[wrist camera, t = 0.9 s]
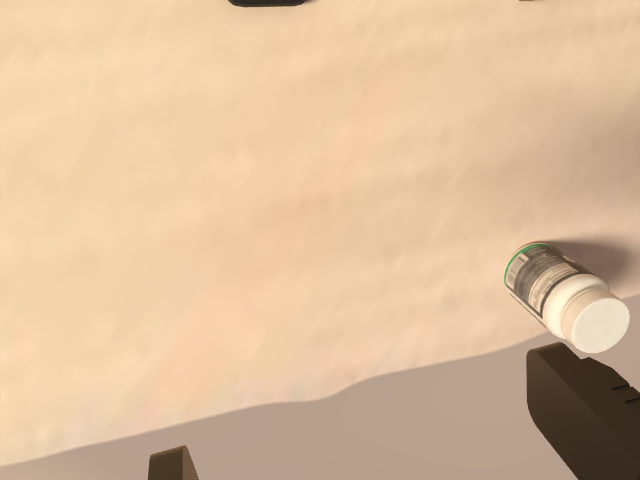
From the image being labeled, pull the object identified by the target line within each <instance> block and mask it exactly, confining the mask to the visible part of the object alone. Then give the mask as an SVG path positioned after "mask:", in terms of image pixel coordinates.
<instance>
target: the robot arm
mask: <svg viewBox="0 0 640 480" xmlns="http://www.w3.org/2000/svg"><path fill="white" fill-rule="evenodd" d="M526 359H527V360H526V362H527V404H528V409H529V412H530V415H531V417H532V419H533V421H534V423H535V425H536V426H537V428H538V429H539V430H540V432H541V433H542V434H543V435H544V437H545V438H546V439H547V440H548V442H549V443H550V444H551V446H552V447H553V448H554V449H555V451H556V452H557V453H558V454H559V456H560V457H561V458H562V459H563V461H564V462H565V463H566V465H567V466H568V467H569V468H570V470H571V471H572V472H573V473H574V475H575V476H576V477H577V479H578V480H640V393H639V392H638V391H637V390H636V389H635V388H634V387H630V385H629V383H628V382H627V381H626V380H625V379H624V378H622V377H621V376H620V375H619V374H618V373H617V372H616V371H615V370H614V369H613V368H611V367H609V366H607V365H605V364H602V363H600V362H598V361H596V360H594V359H592V358H590V357H588V358H585V359H582V360H581V359H580V358H579V357H578V356H577V355H576V354H574V353H573V352H572V351H571V350H570V349H569V348H568V347H567V346H566V345H565V344H563V343H561V342H557V343H553V344H550V345H546V346H543V347H539V348H536V349H532V350H529V351H528V353H527V358H526ZM148 480H199V479H198V476H197V473H196V470H195V467H194V465H193V462H192V459H191V457H190V454H189V451H188V449H187V447H186V446H185V445H184V446H180V447H177V448H173V449H170V450H166V451H162V452H159V453H155V454H152V455H151V456H150V461H149V474H148Z"/></svg>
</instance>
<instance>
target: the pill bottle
mask: <svg viewBox="0 0 640 480" xmlns="http://www.w3.org/2000/svg"><path fill="white" fill-rule="evenodd" d="M503 283H504V286H505V288H506V290H507V291H508V292H509V294H510V295H511V296H512V297H513V298H514V299H516V300H517V301H518V302H519V303H520V304H521V305H522V306H523V307H524V308H525V309H527V310H528V311H529V312H530V313H531V314H532V315H533V316H534V317H535V318H536V319H537V320H538V321H539V322H540V323H541V324H542V325H544V326H545V327H546V328H547V329H548V330H549V331H550V332H551V333H553V334H554V335H556V336H557V337H559V338H562V339H567V340H568V341H570V342H571V343H572V344H573V345H574V346H575V347H576V348H578V349H579V350H581V351H583V352H587V353H597V352H602V351H604V350H607V349H609V348H610V347H612V346H613V345H615V344H616V343H617V342H618V341H619V340H620V339H621V338H622V336H623V335H624V334H625V332H626V330H627V328H628V325H629V321H630V314H629V310H628V307H627V306H626V304H625V303H624V302H623V301H622V300H620V299H619V298H618V297H616V296H615V295H614V294H612V293H611V291H610V289H609V287H608V286H607V285H606V283H605V282H604V281H602V280H601V279H600V278H599V277H597V276H595V275H594V274H592V273H591V272H589V271H588V270H587V269H585V268H583V267H582V266H581V265H579V264H578V263H576V262H575V261H573V260H572V259H570V258H569V257H567V256H566V255H564V254H563V253H562V252H560V251H559V250H557V249H556V248H554V247H552V246H551V245H548V244H545V243H531V244H528V245H525V246H523V247H521V248H519V249H518V250H517V251H516V252H514V253H513V254H512V255H511V257H510V258H509V259H508V261H507V263H506V265H505V268H504V271H503Z"/></svg>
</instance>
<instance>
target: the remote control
mask: <svg viewBox="0 0 640 480" xmlns="http://www.w3.org/2000/svg"><path fill="white" fill-rule="evenodd" d="M228 1H229V2H231V3H232V4H233V5H235V6H241V7H275V6H296V5H299V4H302V3H303V2H304V1H305V0H228Z"/></svg>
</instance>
